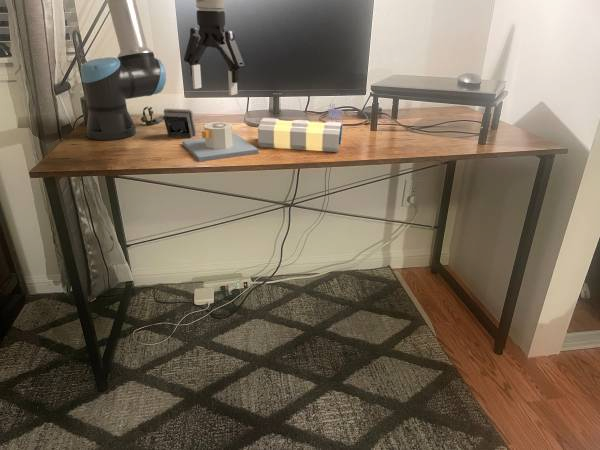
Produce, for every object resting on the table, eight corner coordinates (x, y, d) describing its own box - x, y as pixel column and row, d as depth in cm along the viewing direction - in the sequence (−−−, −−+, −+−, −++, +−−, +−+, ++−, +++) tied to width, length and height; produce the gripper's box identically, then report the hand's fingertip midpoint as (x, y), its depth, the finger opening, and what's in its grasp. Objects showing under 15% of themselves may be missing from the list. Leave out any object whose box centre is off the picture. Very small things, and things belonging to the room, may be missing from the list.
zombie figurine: (176, 102, 164) (144, 109, 153) (178, 120, 167) (146, 129, 156) (166, 99, 166) (133, 107, 155) (168, 117, 170) (136, 126, 158)
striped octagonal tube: (341, 144, 143) (344, 103, 137) (338, 154, 134) (341, 110, 128) (266, 139, 147) (265, 99, 141) (258, 148, 138) (257, 105, 132)
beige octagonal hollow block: (195, 147, 132) (193, 127, 130) (217, 139, 140) (216, 120, 137) (215, 152, 129) (214, 131, 126) (237, 144, 136) (236, 124, 134)
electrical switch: (197, 135, 149) (193, 107, 144) (192, 140, 145) (188, 112, 140) (170, 133, 150) (165, 106, 145) (164, 139, 145) (159, 111, 140)
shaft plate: (182, 144, 139) (180, 121, 136) (236, 137, 147) (235, 115, 143) (199, 161, 125) (197, 136, 122) (258, 153, 133) (257, 129, 129)
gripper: (166, 7, 121) (174, 87, 131) (238, 12, 110) (240, 99, 120) (186, 7, 127) (192, 83, 137) (256, 12, 115) (257, 95, 125)
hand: (214, 91), depth 128 cm, fingers open, 13 cm apart
